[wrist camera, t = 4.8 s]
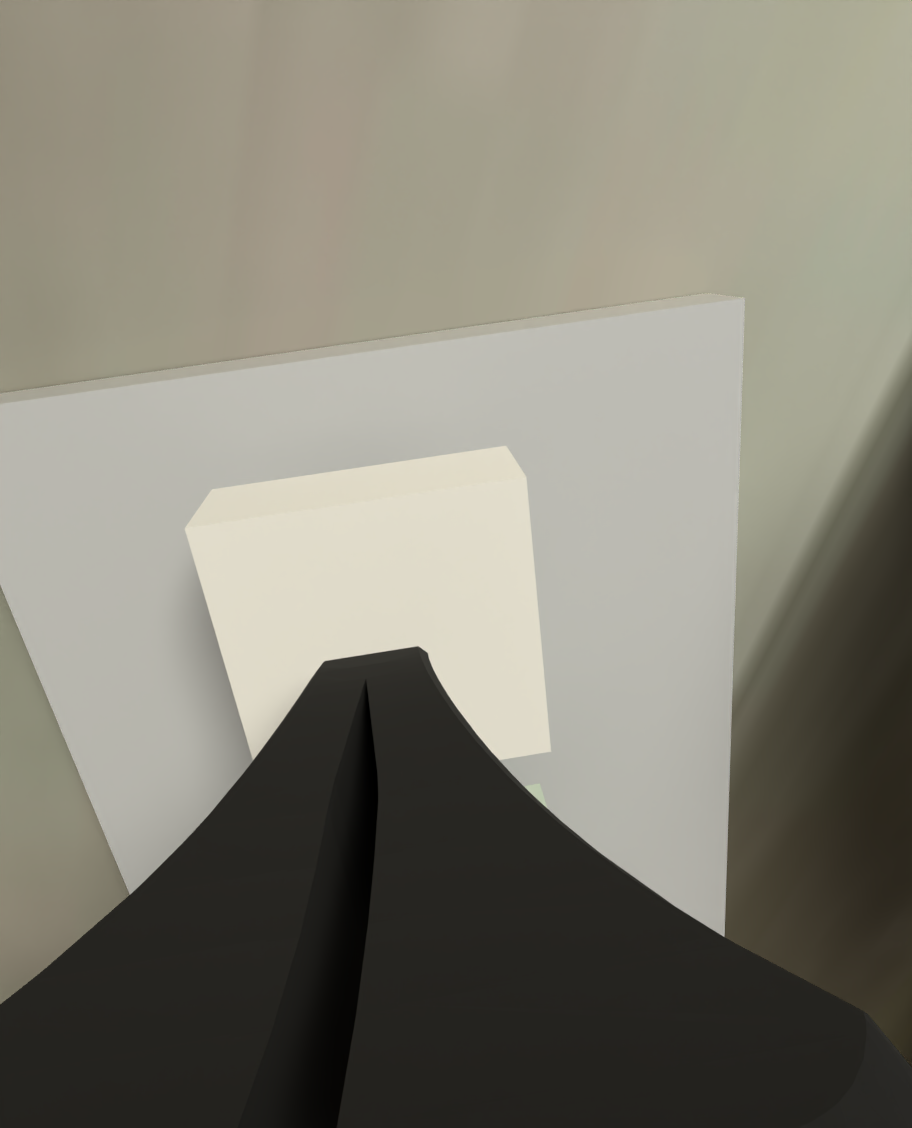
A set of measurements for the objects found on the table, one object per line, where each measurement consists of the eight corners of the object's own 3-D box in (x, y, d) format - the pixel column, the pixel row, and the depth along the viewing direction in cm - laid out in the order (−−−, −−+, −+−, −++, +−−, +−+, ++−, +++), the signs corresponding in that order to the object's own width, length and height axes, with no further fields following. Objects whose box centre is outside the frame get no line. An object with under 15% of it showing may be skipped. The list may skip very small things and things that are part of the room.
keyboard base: (707, 292, 14) (744, 298, 13) (698, 1030, 23) (719, 1083, 22) (-24, 396, 14) (-72, 414, 12) (254, 1111, 23) (245, 1171, 21)
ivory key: (492, 424, 13) (526, 476, 10) (516, 650, 15) (551, 751, 12) (230, 462, 13) (184, 527, 10) (287, 686, 15) (263, 798, 12)
